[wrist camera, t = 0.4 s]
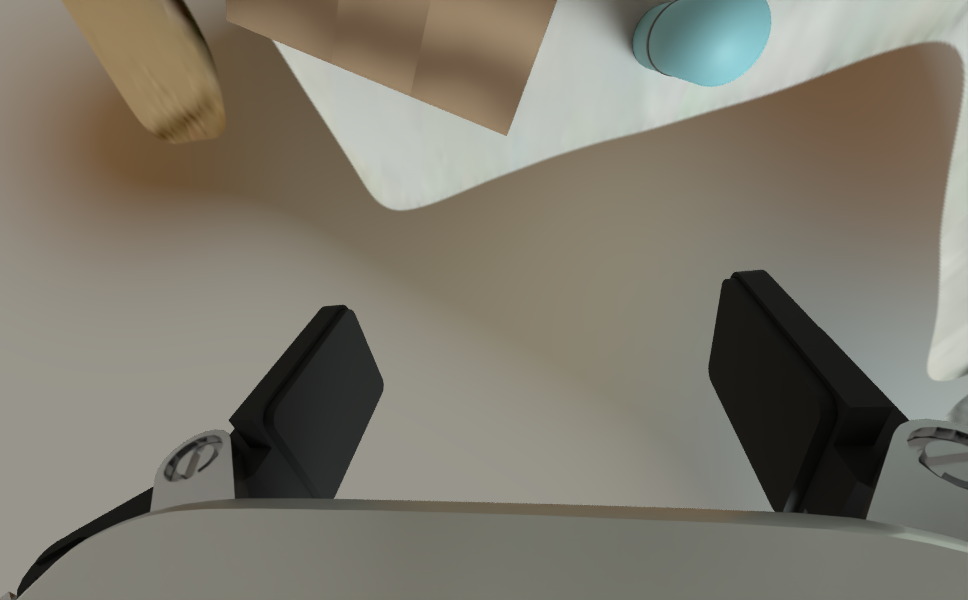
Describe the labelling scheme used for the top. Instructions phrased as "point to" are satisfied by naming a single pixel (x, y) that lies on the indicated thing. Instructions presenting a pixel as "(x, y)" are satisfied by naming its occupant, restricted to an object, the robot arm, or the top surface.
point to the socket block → (417, 46)
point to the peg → (703, 39)
